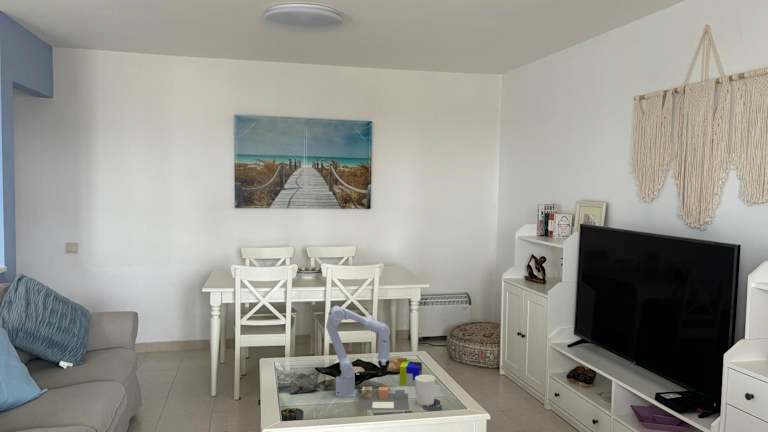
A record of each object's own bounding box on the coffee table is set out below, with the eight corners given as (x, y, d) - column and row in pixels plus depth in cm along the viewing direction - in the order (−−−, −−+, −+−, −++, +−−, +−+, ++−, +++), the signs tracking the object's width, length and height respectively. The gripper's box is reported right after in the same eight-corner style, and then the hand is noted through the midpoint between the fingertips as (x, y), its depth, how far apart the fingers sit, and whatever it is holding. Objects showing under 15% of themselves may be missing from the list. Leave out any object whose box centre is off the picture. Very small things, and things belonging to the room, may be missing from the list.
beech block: (362, 399, 280) (362, 389, 280) (362, 395, 285) (362, 386, 284) (371, 399, 280) (371, 389, 280) (371, 395, 284) (371, 386, 284)
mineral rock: (320, 390, 293) (320, 371, 293) (310, 397, 283) (310, 377, 283) (298, 387, 298) (297, 368, 298) (287, 394, 288) (287, 374, 288)
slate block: (395, 399, 280) (395, 390, 280) (395, 396, 284) (395, 386, 284) (404, 399, 280) (404, 390, 280) (404, 396, 284) (404, 387, 284)
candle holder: (421, 407, 269) (421, 382, 269) (411, 401, 278) (411, 376, 277) (439, 404, 274) (439, 379, 273) (428, 397, 282) (428, 373, 282)
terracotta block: (378, 399, 280) (378, 389, 280) (379, 395, 284) (379, 386, 284) (388, 399, 280) (388, 389, 280) (388, 395, 284) (388, 386, 284)
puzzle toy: (419, 386, 299) (419, 367, 299) (400, 385, 301) (400, 366, 301) (421, 380, 309) (421, 362, 308) (403, 379, 311) (403, 361, 310)
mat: (356, 410, 266) (356, 409, 266) (359, 393, 288) (359, 393, 288) (408, 410, 266) (408, 409, 266) (407, 394, 288) (407, 393, 288)
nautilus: (420, 369, 330) (417, 379, 315) (384, 365, 334) (378, 374, 320) (421, 356, 329) (417, 365, 315) (384, 352, 333) (379, 360, 319)
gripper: (391, 352, 283) (391, 379, 284) (391, 344, 298) (391, 371, 298) (377, 352, 283) (377, 379, 284) (378, 344, 298) (378, 370, 298)
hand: (383, 375), depth 291 cm, fingers closed
